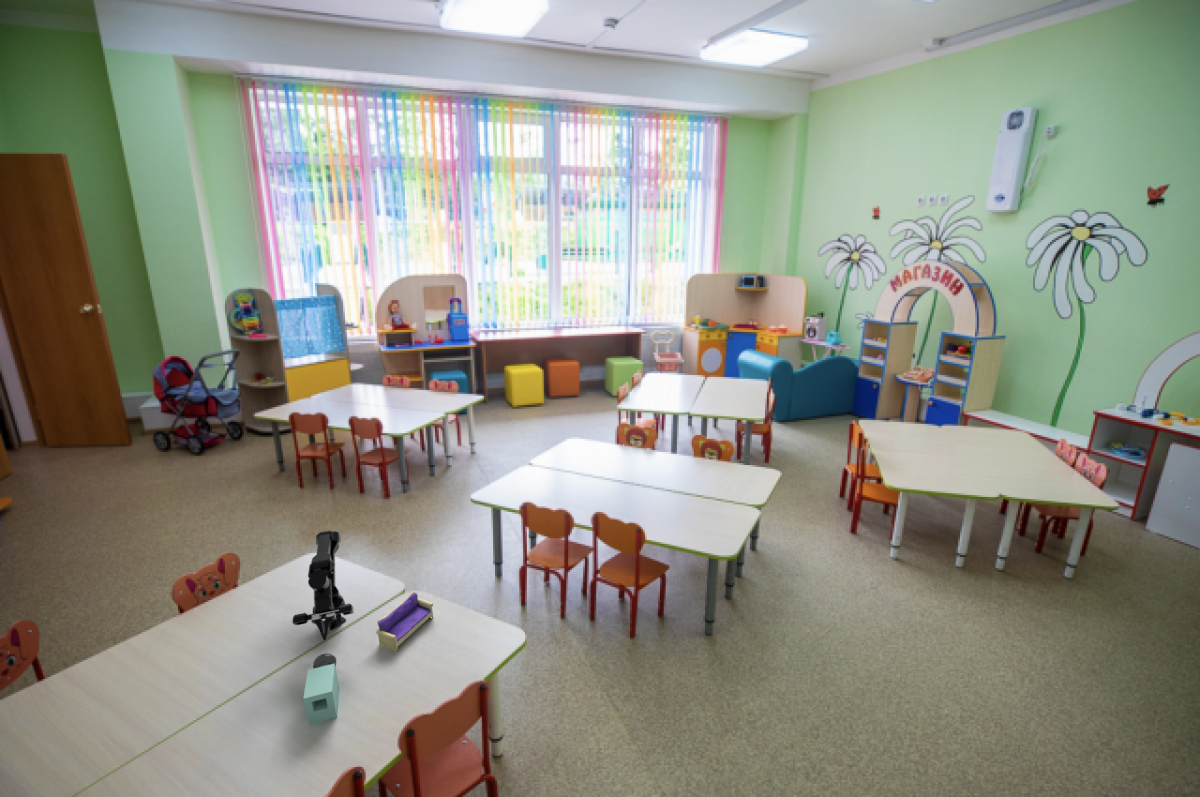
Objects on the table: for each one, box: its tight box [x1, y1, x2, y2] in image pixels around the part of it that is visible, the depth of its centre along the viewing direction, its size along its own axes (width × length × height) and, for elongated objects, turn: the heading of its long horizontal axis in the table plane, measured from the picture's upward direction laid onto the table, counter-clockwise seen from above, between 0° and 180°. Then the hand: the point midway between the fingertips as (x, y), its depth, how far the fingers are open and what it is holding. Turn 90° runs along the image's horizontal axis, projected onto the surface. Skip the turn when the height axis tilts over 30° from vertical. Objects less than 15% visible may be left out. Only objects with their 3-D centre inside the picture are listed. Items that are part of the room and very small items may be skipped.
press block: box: [302, 664, 340, 726], centre depth 182 cm, size 12×8×10 cm, turn 20°
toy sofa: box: [375, 591, 434, 652], centre depth 214 cm, size 21×9×10 cm, turn 155°
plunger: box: [312, 653, 337, 669], centre depth 187 cm, size 12×7×7 cm, turn 20°
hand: (324, 640), depth 197 cm, fingers closed
